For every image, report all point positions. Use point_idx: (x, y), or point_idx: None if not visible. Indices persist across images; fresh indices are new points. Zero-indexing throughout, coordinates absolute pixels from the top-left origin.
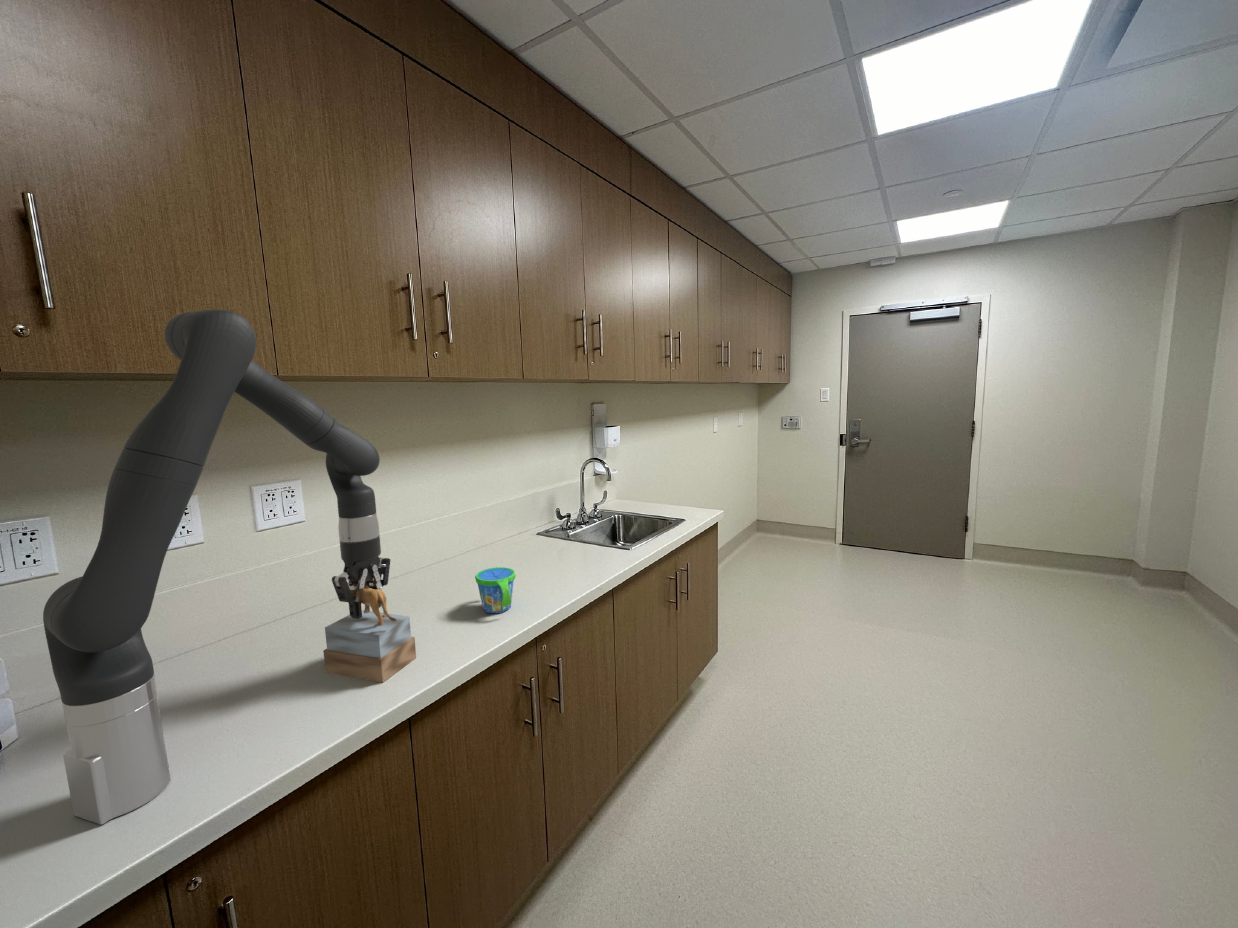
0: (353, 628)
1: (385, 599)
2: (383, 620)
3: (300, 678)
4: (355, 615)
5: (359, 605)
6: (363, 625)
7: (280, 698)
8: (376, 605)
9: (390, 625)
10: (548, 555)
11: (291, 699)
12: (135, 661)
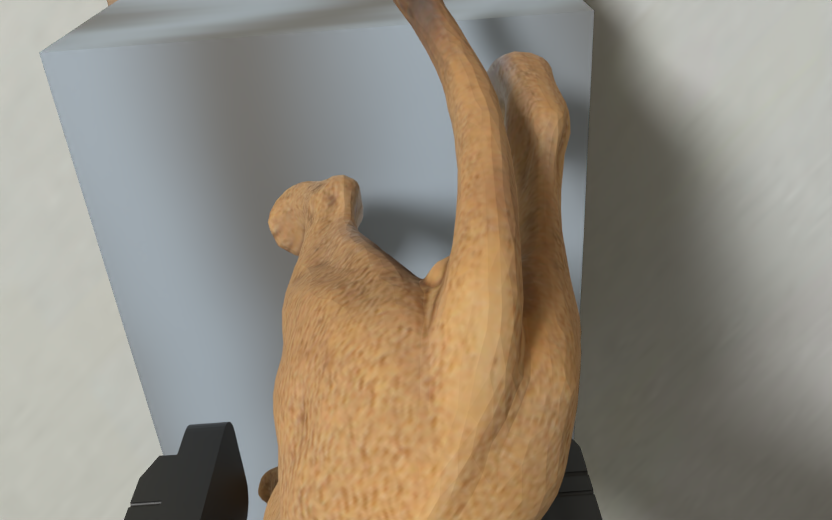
0: None
1: (347, 280)
2: (506, 67)
3: (603, 418)
4: (571, 443)
5: (543, 516)
6: None
7: (781, 352)
8: (555, 268)
9: (337, 82)
10: None
11: (784, 298)
12: None
